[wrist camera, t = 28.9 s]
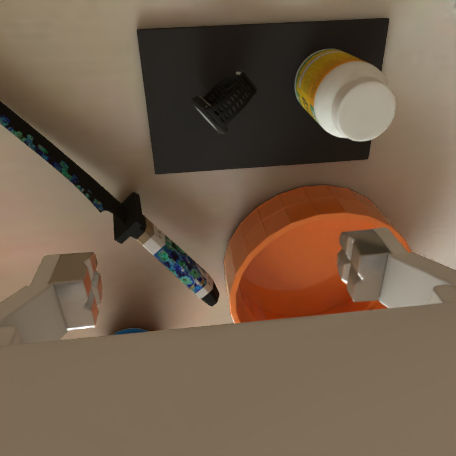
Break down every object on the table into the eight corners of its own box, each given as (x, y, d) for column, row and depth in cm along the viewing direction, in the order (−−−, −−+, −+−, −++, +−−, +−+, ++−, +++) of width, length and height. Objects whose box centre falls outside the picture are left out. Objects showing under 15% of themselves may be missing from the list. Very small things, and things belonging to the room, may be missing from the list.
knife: (222, 277, 45) (223, 303, 40) (200, 293, 45) (199, 320, 41) (-25, 29, 33) (-57, 30, 29) (-49, 55, 34) (-83, 60, 30)
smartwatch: (185, 82, 35) (187, 98, 30) (245, 60, 34) (255, 73, 30) (202, 129, 37) (206, 149, 33) (259, 108, 36) (270, 126, 32)
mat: (155, 171, 39) (155, 174, 39) (137, 29, 33) (136, 30, 32) (365, 157, 41) (368, 159, 40) (386, 17, 34) (389, 18, 34)
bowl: (226, 328, 50) (232, 369, 45) (220, 190, 41) (226, 221, 36) (375, 314, 52) (397, 351, 46) (402, 177, 42) (433, 205, 37)
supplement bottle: (367, 70, 36) (424, 99, 28) (327, 124, 38) (369, 165, 30) (319, 33, 34) (365, 52, 26) (279, 91, 36) (310, 126, 28)
